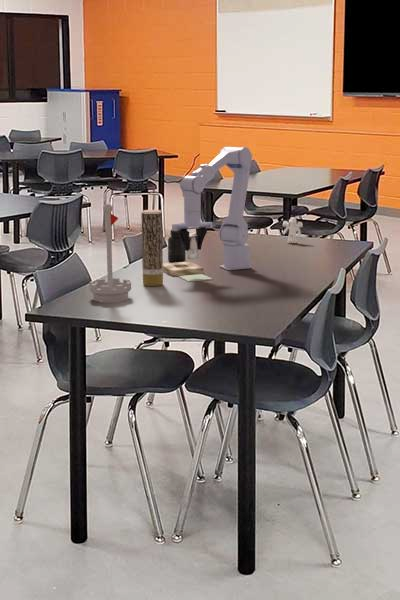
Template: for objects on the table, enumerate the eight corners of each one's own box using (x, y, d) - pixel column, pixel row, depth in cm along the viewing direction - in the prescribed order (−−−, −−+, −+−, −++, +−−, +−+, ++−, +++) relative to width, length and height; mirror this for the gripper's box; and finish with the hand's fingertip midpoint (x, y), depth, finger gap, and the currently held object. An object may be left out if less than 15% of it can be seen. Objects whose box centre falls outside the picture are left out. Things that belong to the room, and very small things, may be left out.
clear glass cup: (195, 257, 315) (195, 234, 314) (199, 258, 312) (199, 236, 310) (185, 258, 314) (184, 235, 312) (189, 259, 310) (188, 236, 309)
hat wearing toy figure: (303, 243, 384) (304, 215, 381) (300, 244, 381) (300, 216, 378) (283, 241, 388) (284, 214, 385) (280, 243, 385) (280, 215, 382)
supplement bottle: (165, 262, 343) (164, 231, 341) (172, 258, 350) (171, 228, 347) (181, 263, 341) (181, 231, 338) (188, 260, 347) (188, 229, 344)
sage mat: (202, 275, 318) (202, 273, 318) (212, 279, 310) (212, 278, 310) (178, 277, 315) (178, 276, 315) (188, 281, 307) (187, 280, 307)
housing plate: (189, 266, 333) (189, 261, 333) (203, 273, 321) (203, 267, 320) (158, 269, 329) (158, 263, 329) (172, 276, 316) (172, 270, 316)
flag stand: (114, 305, 274) (111, 207, 267) (81, 300, 281) (77, 204, 274) (139, 296, 285) (137, 202, 278) (107, 292, 292) (104, 200, 285)
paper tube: (166, 283, 305) (164, 210, 299) (158, 287, 298) (157, 212, 293) (147, 282, 307) (145, 209, 301) (139, 286, 300) (138, 212, 295)
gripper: (207, 208, 315) (207, 246, 318) (168, 210, 310) (169, 249, 313) (215, 210, 309) (215, 249, 312) (175, 212, 303) (176, 252, 306)
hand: (192, 249), depth 312 cm, fingers closed on clear glass cup, 4 cm apart
